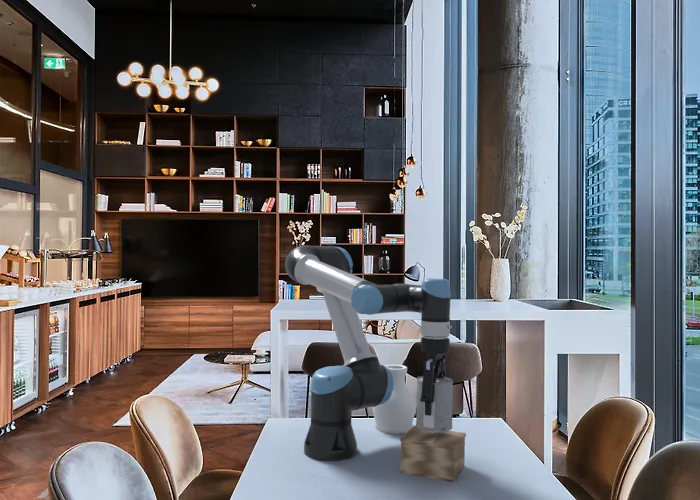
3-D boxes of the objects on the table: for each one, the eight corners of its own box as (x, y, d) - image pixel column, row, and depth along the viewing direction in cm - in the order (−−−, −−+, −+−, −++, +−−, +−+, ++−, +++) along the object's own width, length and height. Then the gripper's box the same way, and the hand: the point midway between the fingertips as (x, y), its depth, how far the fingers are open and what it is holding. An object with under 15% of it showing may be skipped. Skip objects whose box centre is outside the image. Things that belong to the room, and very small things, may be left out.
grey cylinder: (452, 433, 141) (452, 384, 141) (414, 430, 143) (415, 382, 143) (452, 422, 150) (453, 376, 151) (417, 419, 152) (418, 374, 153)
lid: (400, 441, 144) (400, 438, 144) (414, 428, 155) (414, 425, 155) (455, 450, 138) (455, 446, 138) (465, 436, 150) (465, 432, 150)
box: (400, 472, 144) (401, 441, 144) (414, 457, 155) (414, 428, 155) (454, 482, 138) (454, 450, 138) (464, 466, 149) (464, 436, 149)
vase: (424, 428, 182) (425, 367, 182) (397, 438, 172) (398, 373, 172) (390, 418, 192) (391, 360, 192) (362, 427, 181) (364, 366, 182)
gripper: (438, 343, 135) (437, 436, 135) (458, 333, 156) (457, 413, 155) (409, 341, 138) (407, 431, 138) (432, 331, 159) (431, 409, 158)
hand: (434, 421), depth 147 cm, fingers closed on grey cylinder, 9 cm apart
